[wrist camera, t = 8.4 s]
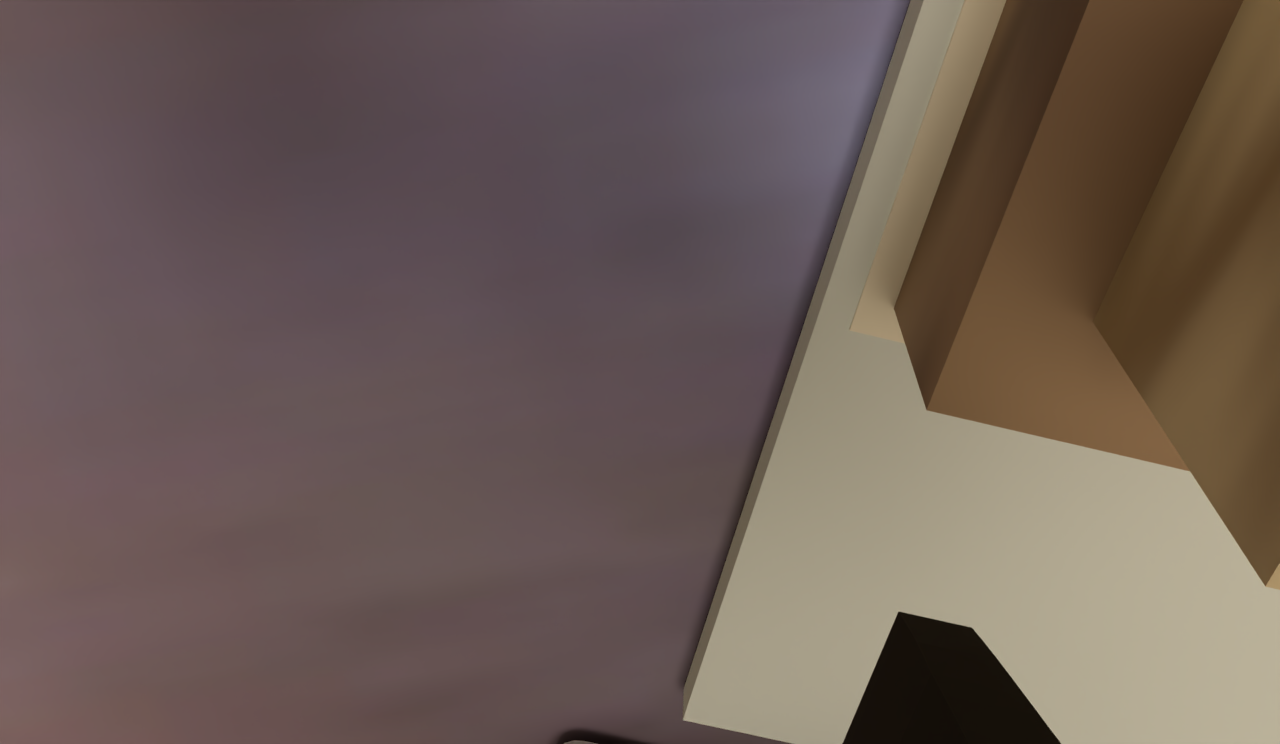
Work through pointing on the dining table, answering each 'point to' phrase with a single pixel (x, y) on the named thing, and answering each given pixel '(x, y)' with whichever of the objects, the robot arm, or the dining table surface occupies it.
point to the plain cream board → (964, 505)
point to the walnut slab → (1053, 216)
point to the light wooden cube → (1216, 290)
